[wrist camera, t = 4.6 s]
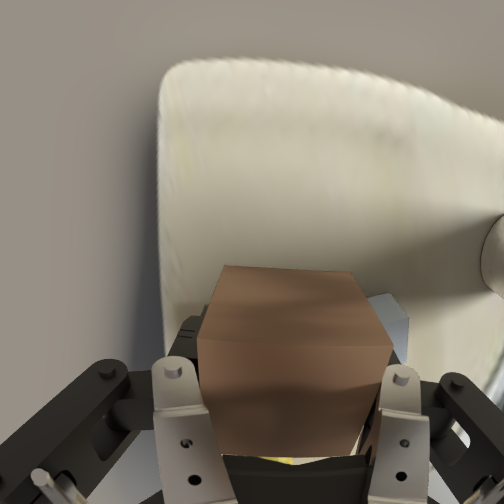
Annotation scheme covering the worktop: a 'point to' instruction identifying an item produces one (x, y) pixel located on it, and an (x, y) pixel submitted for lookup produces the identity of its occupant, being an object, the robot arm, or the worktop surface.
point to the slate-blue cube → (392, 322)
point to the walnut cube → (289, 361)
